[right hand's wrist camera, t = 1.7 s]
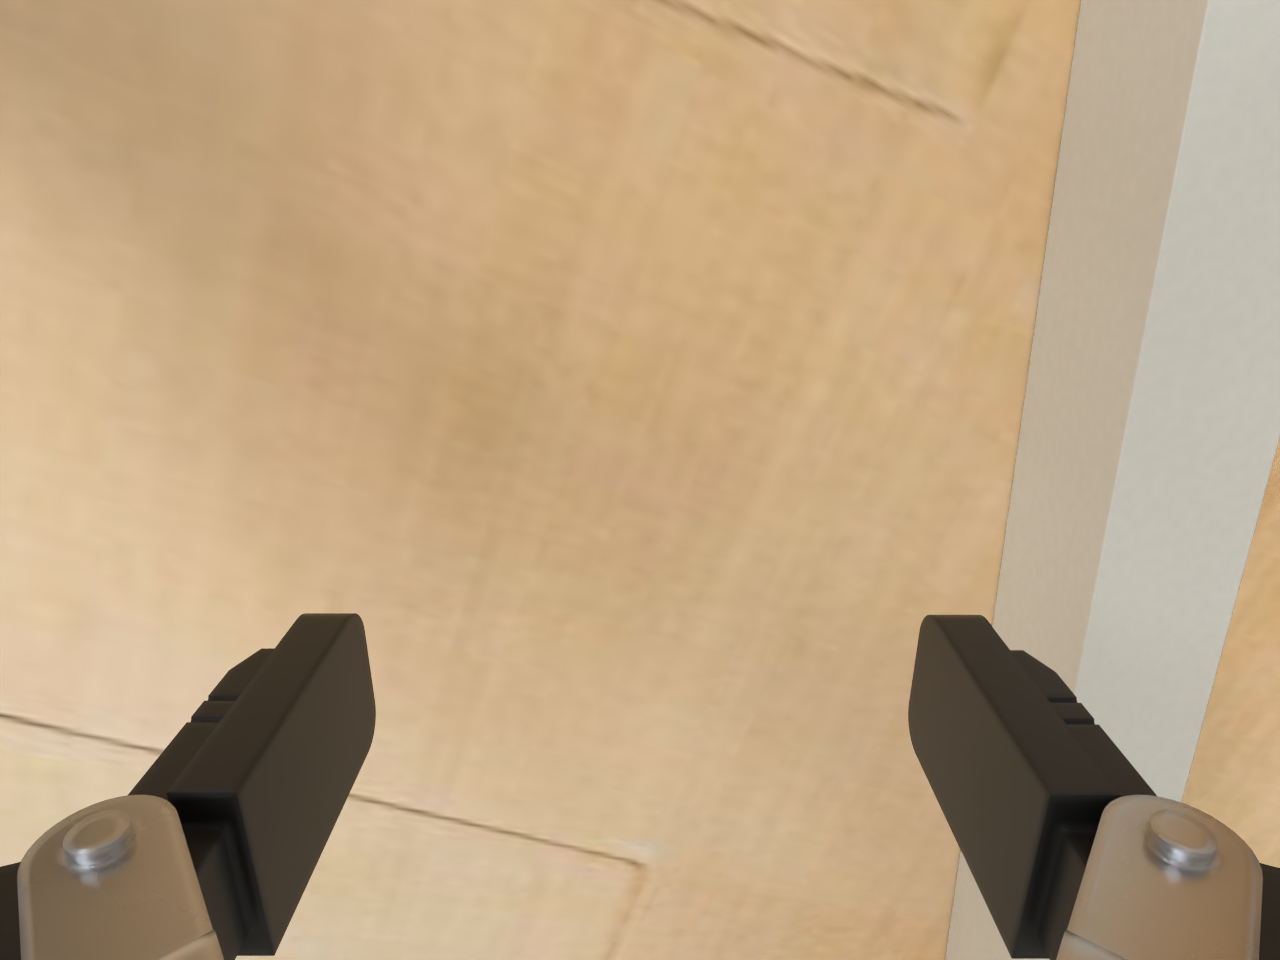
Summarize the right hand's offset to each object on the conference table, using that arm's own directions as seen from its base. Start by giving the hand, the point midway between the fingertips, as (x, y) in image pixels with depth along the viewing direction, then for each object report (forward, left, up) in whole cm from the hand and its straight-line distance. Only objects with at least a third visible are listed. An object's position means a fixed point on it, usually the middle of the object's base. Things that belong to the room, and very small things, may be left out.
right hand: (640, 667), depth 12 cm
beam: (+12, +17, -20) cm, 29 cm away
